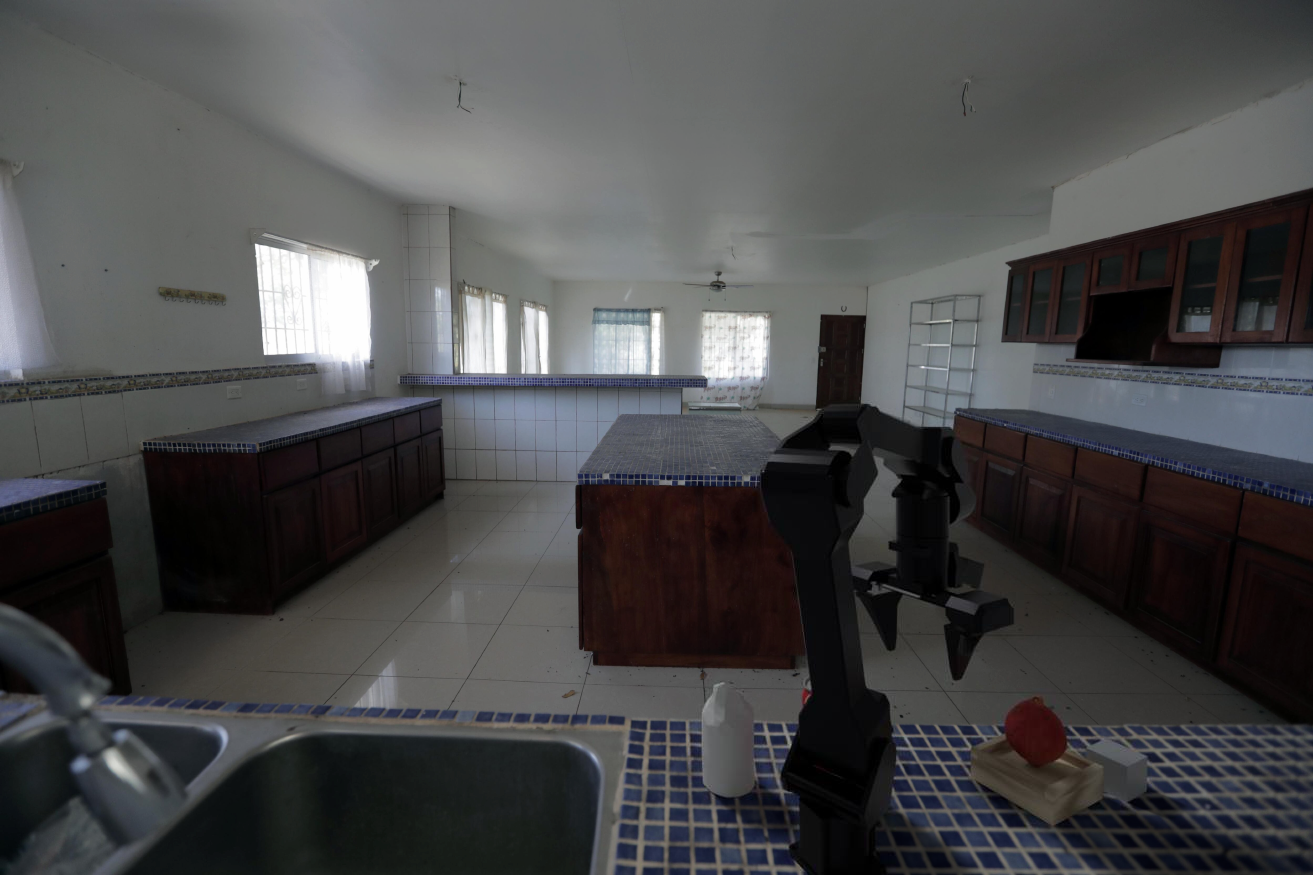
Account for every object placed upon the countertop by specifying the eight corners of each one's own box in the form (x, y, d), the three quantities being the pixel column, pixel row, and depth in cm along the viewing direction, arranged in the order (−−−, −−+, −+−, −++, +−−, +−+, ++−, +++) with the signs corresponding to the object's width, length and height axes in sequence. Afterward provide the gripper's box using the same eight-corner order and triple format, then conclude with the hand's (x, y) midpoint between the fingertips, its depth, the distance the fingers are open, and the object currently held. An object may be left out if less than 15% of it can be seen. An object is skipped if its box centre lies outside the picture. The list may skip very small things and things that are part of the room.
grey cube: (1126, 803, 63) (1127, 766, 63) (1085, 782, 67) (1086, 747, 66) (1146, 791, 65) (1147, 756, 65) (1105, 772, 68) (1106, 738, 68)
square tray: (1052, 825, 60) (1053, 792, 60) (970, 777, 68) (970, 747, 68) (1103, 798, 64) (1103, 766, 64) (1019, 755, 72) (1020, 726, 72)
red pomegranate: (1005, 772, 65) (1006, 700, 64) (1003, 745, 70) (1003, 678, 69) (1070, 787, 62) (1071, 712, 61) (1062, 758, 67) (1063, 689, 66)
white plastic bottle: (755, 671, 69) (752, 694, 64) (756, 771, 70) (753, 802, 64) (704, 667, 71) (697, 689, 65) (705, 765, 71) (698, 795, 66)
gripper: (1046, 540, 65) (1044, 680, 65) (905, 514, 81) (905, 626, 82) (979, 553, 60) (978, 705, 60) (844, 523, 76) (845, 642, 77)
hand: (922, 664), depth 70 cm, fingers open, 9 cm apart
